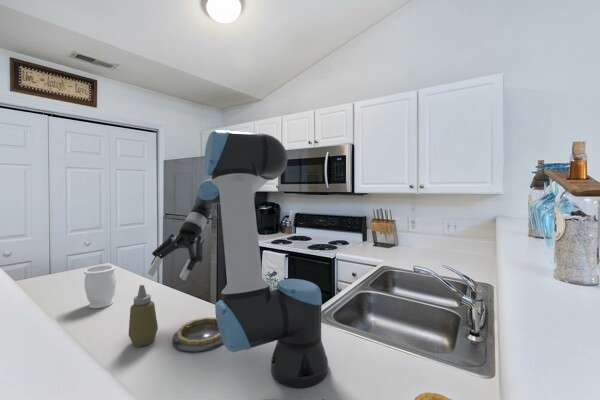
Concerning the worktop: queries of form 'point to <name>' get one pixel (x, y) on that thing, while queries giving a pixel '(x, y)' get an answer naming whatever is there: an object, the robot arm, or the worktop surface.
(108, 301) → the jar
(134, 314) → the squeeze bottle
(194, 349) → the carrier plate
